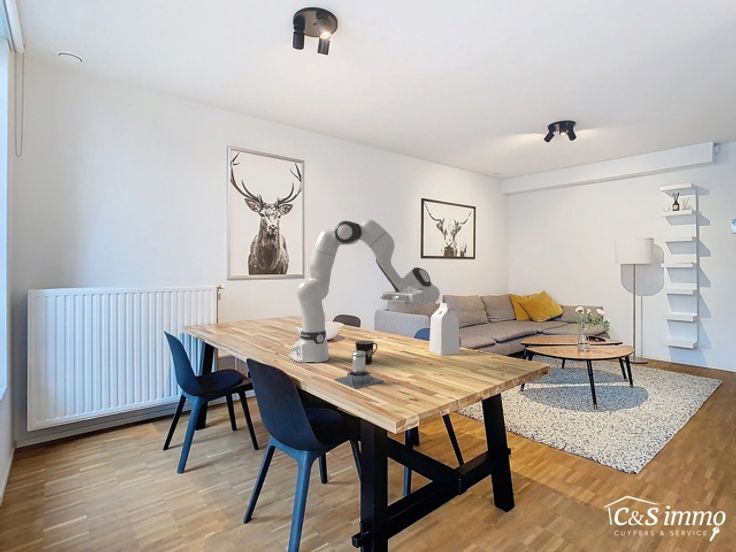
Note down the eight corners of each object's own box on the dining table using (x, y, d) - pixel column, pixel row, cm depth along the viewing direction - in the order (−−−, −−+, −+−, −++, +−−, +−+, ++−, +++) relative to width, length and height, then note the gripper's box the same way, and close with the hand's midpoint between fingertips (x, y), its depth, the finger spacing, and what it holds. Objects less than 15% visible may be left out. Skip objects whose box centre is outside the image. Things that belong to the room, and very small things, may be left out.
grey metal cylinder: (349, 379, 155) (349, 352, 154) (359, 376, 158) (359, 350, 158) (357, 382, 150) (357, 354, 150) (368, 380, 154) (368, 352, 154)
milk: (460, 353, 203) (460, 303, 202) (441, 355, 198) (441, 304, 198) (447, 349, 214) (447, 301, 213) (429, 350, 210) (429, 302, 209)
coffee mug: (357, 366, 177) (357, 344, 177) (353, 361, 186) (353, 340, 185) (382, 364, 180) (382, 343, 180) (376, 360, 189) (376, 339, 189)
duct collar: (334, 380, 155) (334, 372, 155) (361, 374, 164) (361, 367, 164) (355, 388, 144) (355, 380, 144) (383, 381, 153) (383, 374, 153)
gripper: (395, 288, 183) (373, 289, 174) (428, 290, 167) (405, 291, 159) (395, 301, 183) (373, 303, 175) (428, 304, 168) (405, 307, 159)
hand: (389, 297), depth 167 cm, fingers open, 8 cm apart
